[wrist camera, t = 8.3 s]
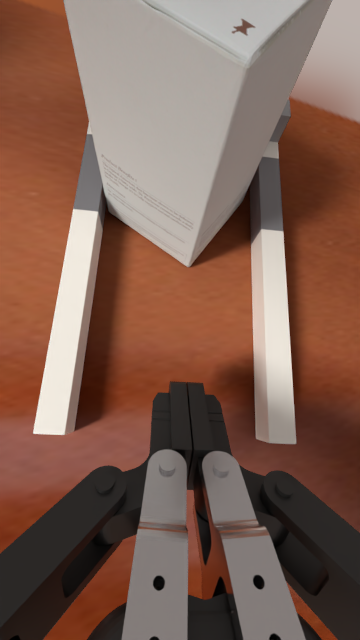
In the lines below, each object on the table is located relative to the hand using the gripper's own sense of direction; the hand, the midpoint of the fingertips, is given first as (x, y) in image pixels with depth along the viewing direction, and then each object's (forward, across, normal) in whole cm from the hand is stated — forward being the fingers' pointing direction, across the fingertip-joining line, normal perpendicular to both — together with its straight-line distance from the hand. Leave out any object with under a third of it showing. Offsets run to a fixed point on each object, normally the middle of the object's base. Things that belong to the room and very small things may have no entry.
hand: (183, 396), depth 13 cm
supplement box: (+13, 0, -7) cm, 14 cm away
